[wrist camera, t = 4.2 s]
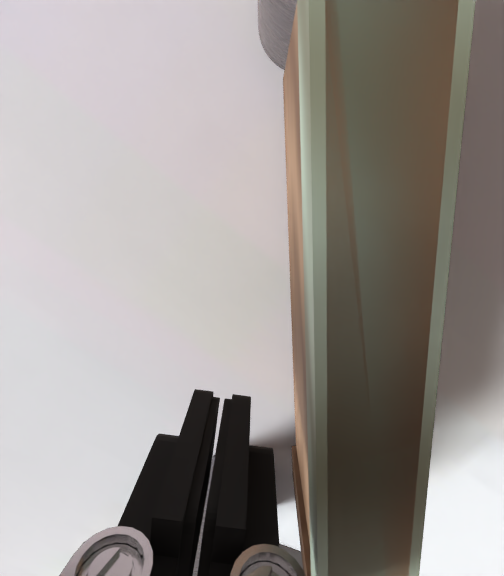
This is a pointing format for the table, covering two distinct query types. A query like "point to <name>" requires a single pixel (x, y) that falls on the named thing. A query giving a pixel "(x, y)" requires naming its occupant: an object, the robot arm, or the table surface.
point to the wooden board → (370, 266)
